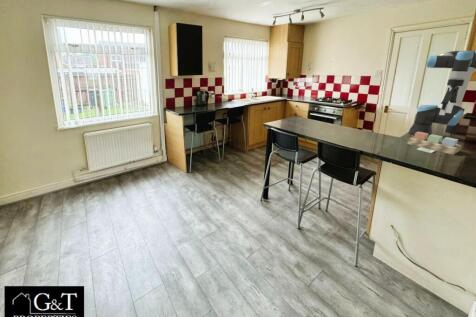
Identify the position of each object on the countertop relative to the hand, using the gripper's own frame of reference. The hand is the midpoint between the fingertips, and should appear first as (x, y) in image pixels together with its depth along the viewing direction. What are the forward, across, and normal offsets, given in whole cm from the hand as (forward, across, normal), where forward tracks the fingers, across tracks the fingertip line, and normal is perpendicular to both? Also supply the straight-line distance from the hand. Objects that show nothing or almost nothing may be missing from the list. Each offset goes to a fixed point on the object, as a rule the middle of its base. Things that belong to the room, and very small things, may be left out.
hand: (444, 113), depth 157 cm
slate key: (+20, -1, -7) cm, 21 cm away
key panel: (+23, 0, +1) cm, 23 cm away
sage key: (+20, 0, +1) cm, 20 cm away
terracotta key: (+20, 0, +9) cm, 22 cm away
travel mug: (+23, +64, +6) cm, 68 cm away
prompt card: (+23, -12, +1) cm, 26 cm away
